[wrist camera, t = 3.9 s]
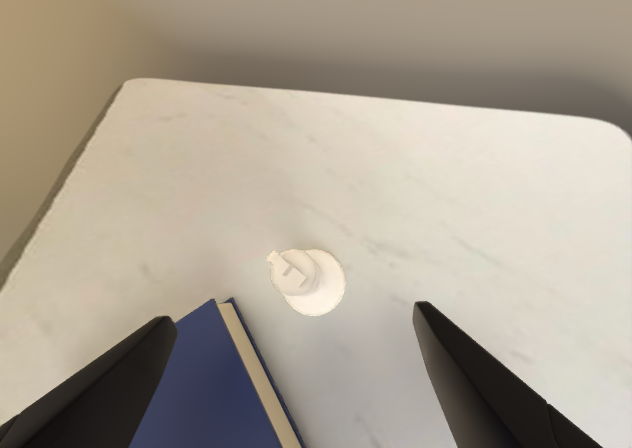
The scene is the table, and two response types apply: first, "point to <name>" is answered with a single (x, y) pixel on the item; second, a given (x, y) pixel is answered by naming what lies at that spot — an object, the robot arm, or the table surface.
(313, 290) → the chess piece
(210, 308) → the blue book
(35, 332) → the table surface
